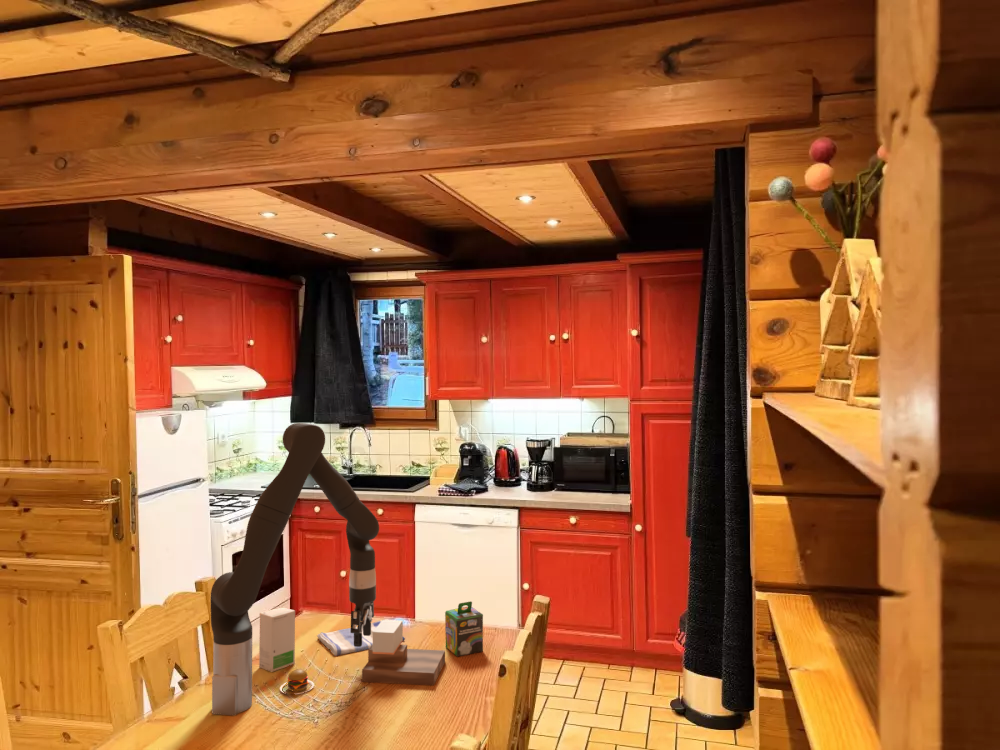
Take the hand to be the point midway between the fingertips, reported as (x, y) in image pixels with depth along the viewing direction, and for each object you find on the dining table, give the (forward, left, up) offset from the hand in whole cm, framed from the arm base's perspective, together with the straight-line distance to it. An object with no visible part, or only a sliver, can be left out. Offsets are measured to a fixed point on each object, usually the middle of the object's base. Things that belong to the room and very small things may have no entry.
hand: (362, 640), depth 199 cm
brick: (0, -7, -2) cm, 8 cm away
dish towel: (+22, +8, -9) cm, 25 cm away
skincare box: (0, +26, -8) cm, 27 cm away
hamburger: (-14, +14, -9) cm, 21 cm away
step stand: (0, -12, -8) cm, 15 cm away
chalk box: (+18, -26, -8) cm, 33 cm away
